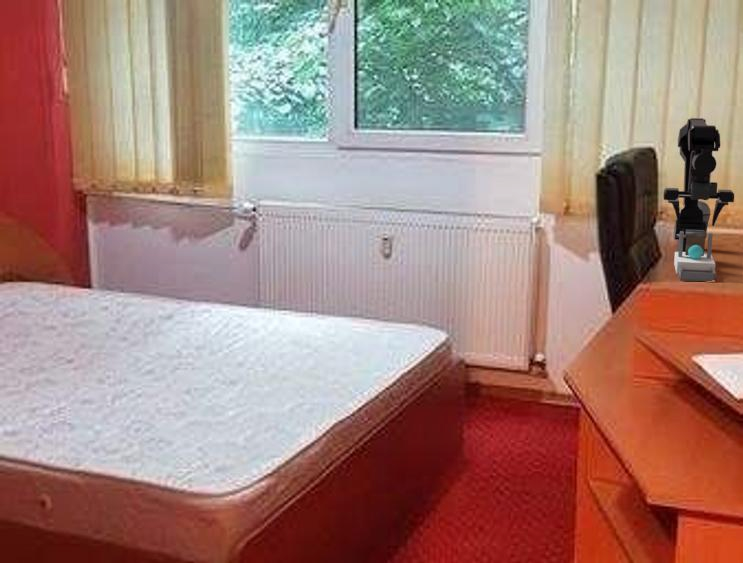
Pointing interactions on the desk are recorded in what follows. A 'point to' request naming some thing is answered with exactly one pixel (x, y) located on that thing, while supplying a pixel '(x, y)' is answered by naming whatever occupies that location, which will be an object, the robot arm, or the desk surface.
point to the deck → (694, 264)
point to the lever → (695, 239)
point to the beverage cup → (705, 211)
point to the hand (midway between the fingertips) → (695, 225)
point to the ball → (695, 251)
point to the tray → (697, 275)
